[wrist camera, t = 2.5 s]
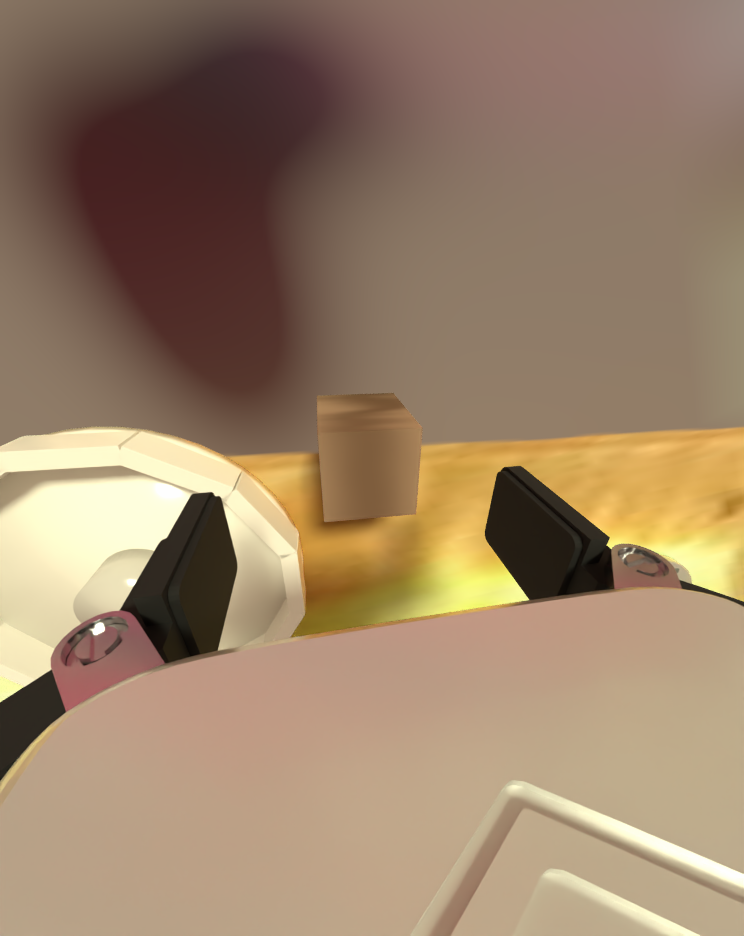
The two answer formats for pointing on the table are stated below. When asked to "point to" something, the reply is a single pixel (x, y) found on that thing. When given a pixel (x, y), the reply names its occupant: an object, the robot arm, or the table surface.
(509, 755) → the robot arm
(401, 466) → the wooden brick
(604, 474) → the table surface
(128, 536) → the dish
